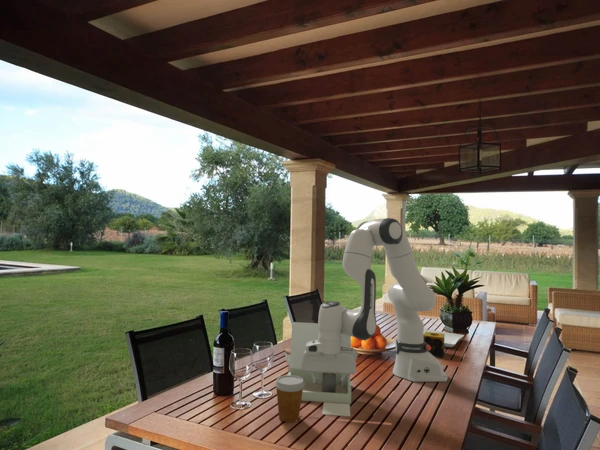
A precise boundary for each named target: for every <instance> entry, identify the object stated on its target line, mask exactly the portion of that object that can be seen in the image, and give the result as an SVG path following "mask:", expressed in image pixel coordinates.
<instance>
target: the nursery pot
mask: <svg viewBox="0 0 600 450" xmlns="http://www.w3.org/2000/svg"><path fill="white" fill-rule="evenodd" d="M322 392H328V393H335V392H336V374H335V373H328V372H323V373H322Z"/></svg>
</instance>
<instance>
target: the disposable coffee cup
mask: <svg viewBox="0 0 600 450" xmlns="http://www.w3.org/2000/svg"><path fill="white" fill-rule="evenodd" d="M274 385H275V389H276V400H277V408H278V409H277V410H278V419H279V420H280V421H281V420H282V421H281V422H284V421H285V422H286V423H295V422H297V421H298V420H299V418H300V413H301V405H302V400H301V399H302V392H303V388H304V386H305V383H304V381H303V379H302V378H301V377H299V376H294V375H288V374H287V375H285V374H284V375H280V376H278V377H277V378H276V380H275V382H274ZM296 420H297V421H296Z"/></svg>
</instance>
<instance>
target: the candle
mask: <svg viewBox="0 0 600 450" xmlns="http://www.w3.org/2000/svg"><path fill="white" fill-rule="evenodd" d="M444 335H445V334H442V333H434V332H425V333H424V336H423V338H424V342H425V343H427V344H428V345H430V347H431V348H430V350H428V352H429V353H431V354H432V355H433V356H434V357H438V358H444V355H445V347H444Z"/></svg>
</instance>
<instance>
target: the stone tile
mask: <svg viewBox="0 0 600 450" xmlns="http://www.w3.org/2000/svg"><path fill="white" fill-rule="evenodd" d="M321 413H322V415H324V416H325V415H326V416H327V415H328V416H336V417H338V416H339V417H340V416H341V417H351V404H347V403H332V402H323V405H322V412H321Z"/></svg>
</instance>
